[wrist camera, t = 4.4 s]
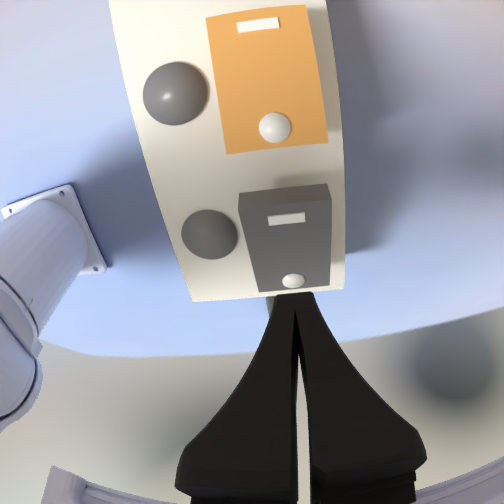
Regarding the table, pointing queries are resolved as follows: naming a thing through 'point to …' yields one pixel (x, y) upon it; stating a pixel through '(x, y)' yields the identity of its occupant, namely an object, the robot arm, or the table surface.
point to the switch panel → (217, 141)
